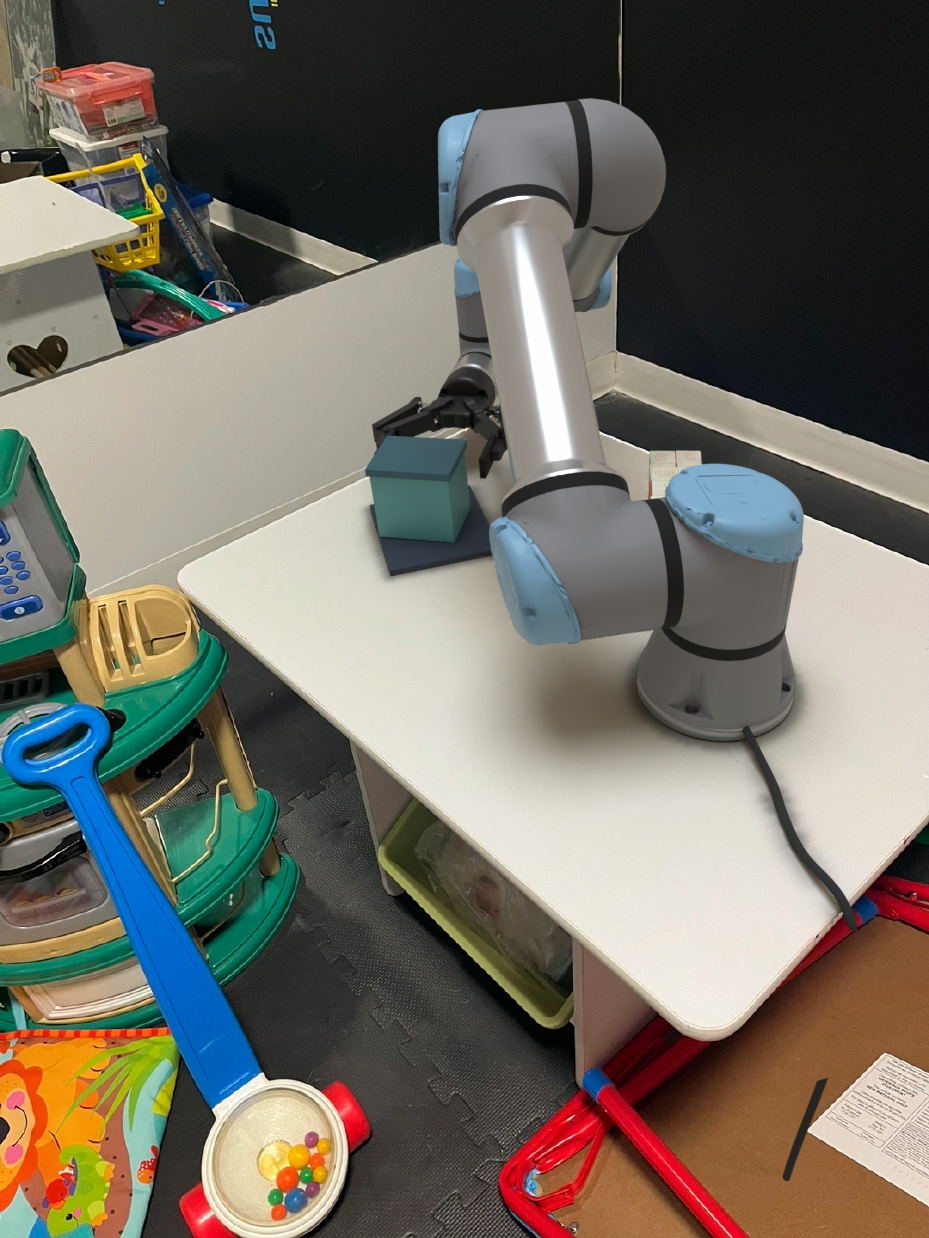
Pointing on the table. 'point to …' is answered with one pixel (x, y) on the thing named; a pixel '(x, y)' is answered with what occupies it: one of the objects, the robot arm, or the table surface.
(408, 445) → the teal box
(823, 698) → the table surface
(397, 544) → the mat
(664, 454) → the stack of blocks
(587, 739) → the table surface
